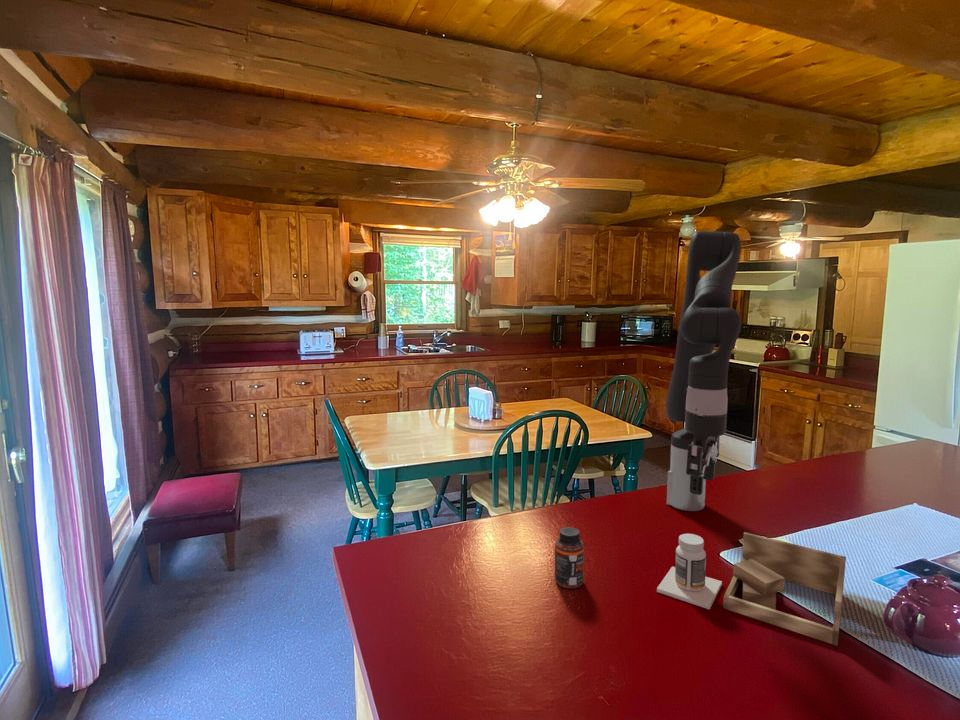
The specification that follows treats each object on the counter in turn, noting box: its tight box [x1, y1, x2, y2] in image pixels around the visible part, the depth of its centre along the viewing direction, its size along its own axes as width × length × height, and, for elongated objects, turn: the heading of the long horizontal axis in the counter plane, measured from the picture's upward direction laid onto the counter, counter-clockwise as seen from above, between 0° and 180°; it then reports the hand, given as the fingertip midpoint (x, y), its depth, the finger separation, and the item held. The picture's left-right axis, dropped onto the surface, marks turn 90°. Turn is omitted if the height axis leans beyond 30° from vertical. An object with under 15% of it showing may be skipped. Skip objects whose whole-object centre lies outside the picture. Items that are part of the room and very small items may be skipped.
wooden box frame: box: [722, 531, 847, 646], centre depth 100 cm, size 18×18×8 cm
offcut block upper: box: [732, 559, 786, 596], centre depth 103 cm, size 5×8×2 cm, turn 20°
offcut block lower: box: [741, 580, 777, 610], centre depth 103 cm, size 6×9×3 cm, turn 154°
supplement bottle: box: [554, 526, 585, 590], centre depth 108 cm, size 6×6×11 cm
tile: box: [656, 566, 723, 610], centre depth 106 cm, size 10×10×1 cm
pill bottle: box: [675, 533, 707, 591], centre depth 105 cm, size 6×6×10 cm
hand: (702, 486), depth 105 cm, fingers open, 8 cm apart
